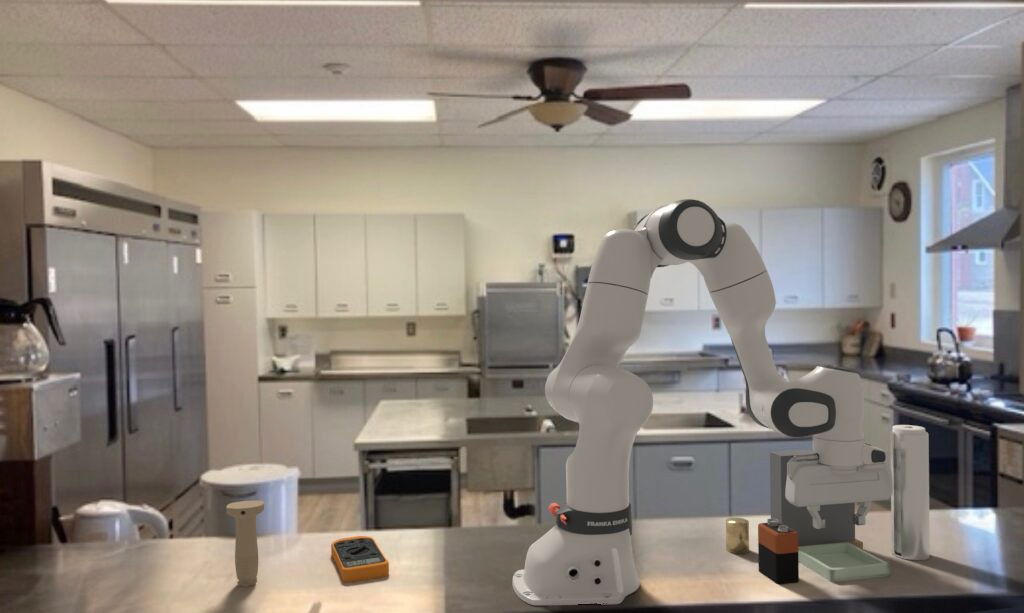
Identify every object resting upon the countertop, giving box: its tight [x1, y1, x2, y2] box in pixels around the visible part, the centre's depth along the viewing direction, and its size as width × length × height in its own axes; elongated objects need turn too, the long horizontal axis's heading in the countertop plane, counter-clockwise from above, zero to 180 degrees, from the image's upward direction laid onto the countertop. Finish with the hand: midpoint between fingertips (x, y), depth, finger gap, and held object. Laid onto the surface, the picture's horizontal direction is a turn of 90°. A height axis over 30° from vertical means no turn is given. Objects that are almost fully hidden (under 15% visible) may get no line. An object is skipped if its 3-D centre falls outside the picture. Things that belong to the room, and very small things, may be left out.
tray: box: [798, 542, 892, 583], centre depth 137 cm, size 12×12×2 cm
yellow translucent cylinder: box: [725, 517, 750, 555], centre depth 146 cm, size 4×4×6 cm
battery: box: [757, 517, 800, 585], centre depth 132 cm, size 4×7×10 cm, turn 11°
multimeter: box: [330, 535, 390, 583], centre depth 142 cm, size 9×18×3 cm, turn 22°
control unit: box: [769, 448, 864, 550], centre depth 146 cm, size 18×6×20 cm, turn 101°
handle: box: [225, 500, 265, 588], centre depth 133 cm, size 5×6×15 cm
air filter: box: [889, 424, 931, 562], centre depth 142 cm, size 6×6×25 cm
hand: (839, 526), depth 136 cm, fingers open, 7 cm apart
